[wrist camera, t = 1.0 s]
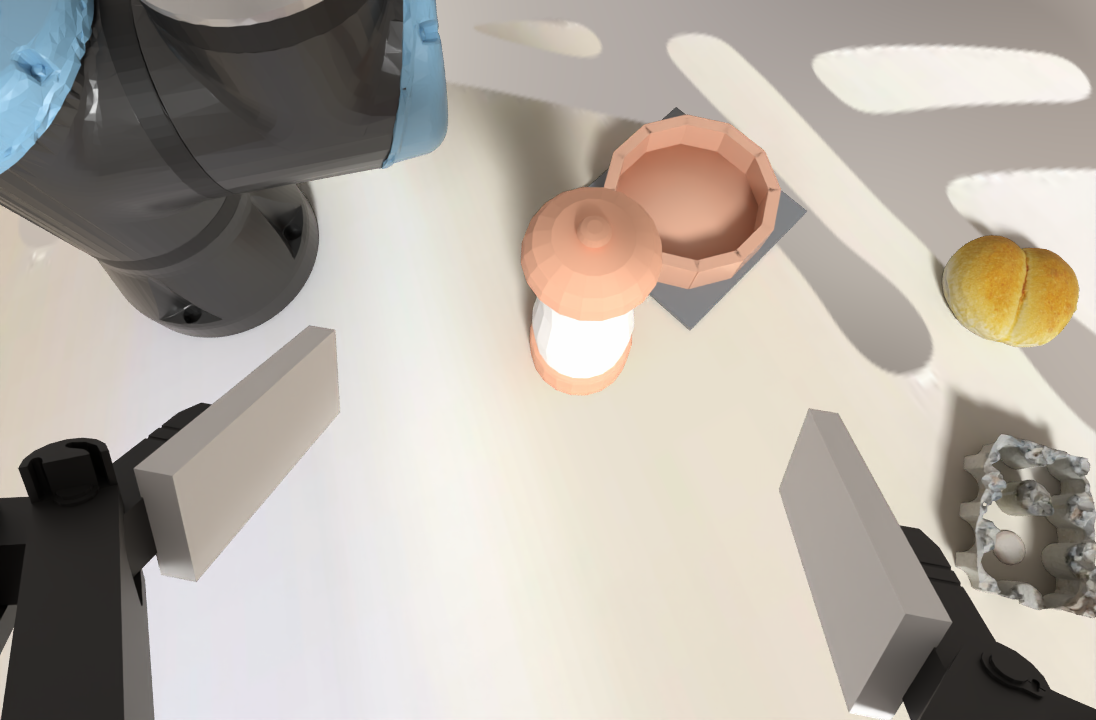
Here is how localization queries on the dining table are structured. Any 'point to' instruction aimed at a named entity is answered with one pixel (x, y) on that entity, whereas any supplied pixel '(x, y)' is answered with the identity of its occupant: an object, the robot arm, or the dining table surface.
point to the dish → (699, 195)
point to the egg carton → (1069, 512)
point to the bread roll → (1010, 291)
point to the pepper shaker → (587, 284)
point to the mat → (702, 299)
